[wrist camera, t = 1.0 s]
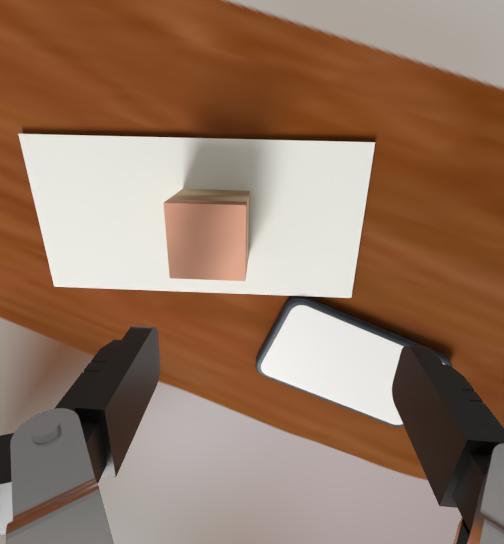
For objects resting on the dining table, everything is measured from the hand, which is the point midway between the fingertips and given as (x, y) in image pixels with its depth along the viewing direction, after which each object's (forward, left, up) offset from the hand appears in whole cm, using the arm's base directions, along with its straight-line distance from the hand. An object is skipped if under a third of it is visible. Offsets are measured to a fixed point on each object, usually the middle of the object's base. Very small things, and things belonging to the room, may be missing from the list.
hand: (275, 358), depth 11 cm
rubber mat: (+6, 0, -16) cm, 17 cm away
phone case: (-8, +13, -17) cm, 23 cm away
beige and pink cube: (+4, 0, -16) cm, 16 cm away
